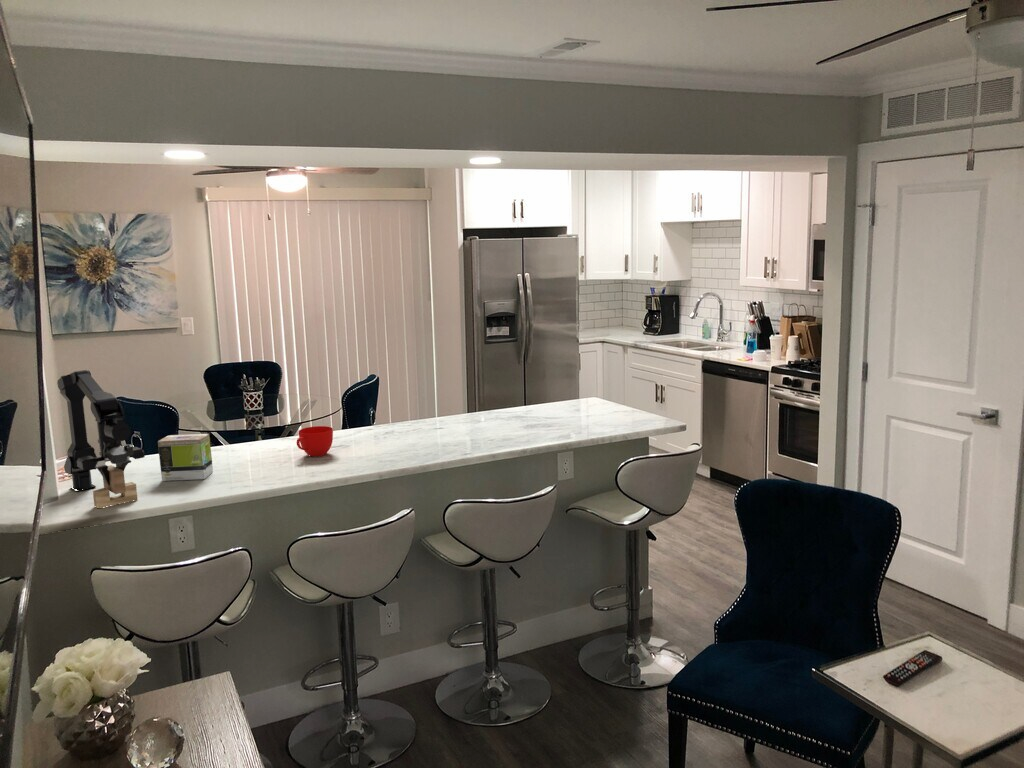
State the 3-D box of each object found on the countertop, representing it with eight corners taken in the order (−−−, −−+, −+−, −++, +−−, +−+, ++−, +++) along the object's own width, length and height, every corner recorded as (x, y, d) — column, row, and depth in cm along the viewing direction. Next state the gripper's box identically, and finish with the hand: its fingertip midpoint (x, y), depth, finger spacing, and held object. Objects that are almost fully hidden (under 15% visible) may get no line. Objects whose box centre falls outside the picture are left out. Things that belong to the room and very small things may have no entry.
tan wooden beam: (104, 488, 260) (101, 467, 259) (113, 485, 262) (111, 465, 261) (116, 494, 253) (113, 472, 252) (125, 491, 255) (123, 470, 254)
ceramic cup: (285, 459, 307) (283, 434, 305) (315, 449, 322) (314, 425, 320) (311, 463, 301) (310, 437, 299) (341, 452, 316) (339, 427, 314)
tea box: (213, 472, 292) (210, 432, 290) (204, 480, 282) (200, 439, 280) (171, 473, 292) (167, 434, 289) (160, 481, 282) (156, 440, 279)
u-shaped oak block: (94, 507, 255) (92, 490, 254) (133, 498, 264) (131, 481, 263) (98, 509, 253) (96, 492, 252) (137, 500, 261) (135, 483, 260)
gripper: (86, 446, 242) (92, 495, 245) (149, 434, 256) (154, 482, 258) (73, 440, 250) (79, 488, 253) (135, 429, 263) (139, 475, 266)
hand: (114, 483), depth 257 cm, fingers closed on tan wooden beam, 3 cm apart
